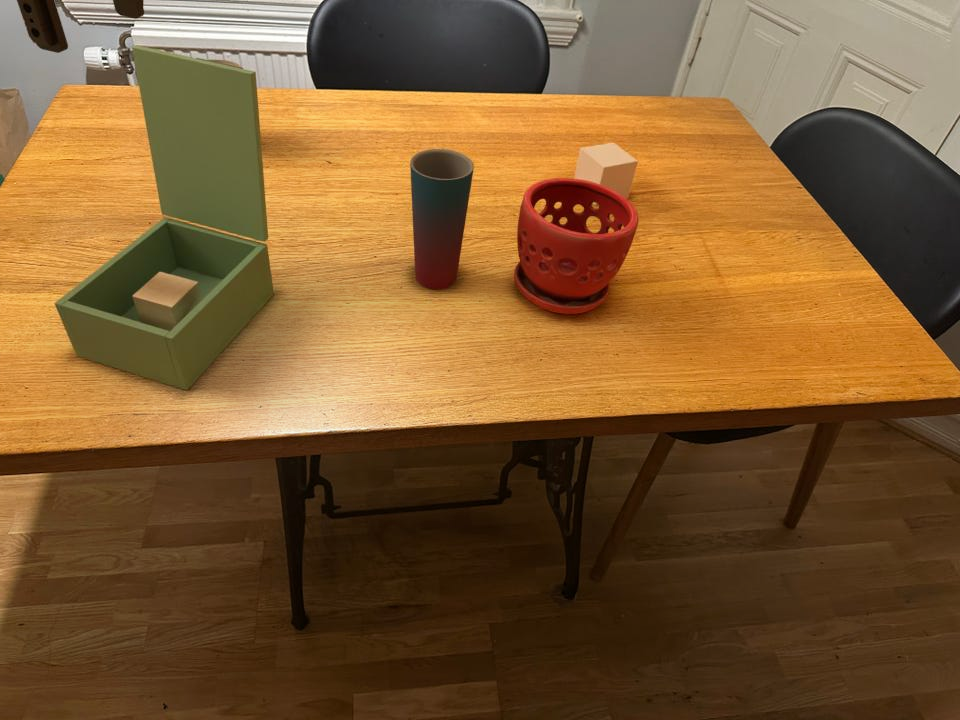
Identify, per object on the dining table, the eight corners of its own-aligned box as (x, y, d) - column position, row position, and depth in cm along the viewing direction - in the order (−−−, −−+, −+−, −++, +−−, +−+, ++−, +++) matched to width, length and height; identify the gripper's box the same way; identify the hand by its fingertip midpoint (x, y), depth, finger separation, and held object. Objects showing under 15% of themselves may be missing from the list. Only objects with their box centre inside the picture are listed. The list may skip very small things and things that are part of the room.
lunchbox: (187, 390, 68) (172, 338, 63) (76, 356, 70) (53, 303, 65) (274, 294, 79) (267, 244, 75) (177, 267, 81) (164, 216, 77)
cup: (415, 297, 81) (419, 182, 71) (401, 264, 86) (403, 151, 76) (470, 290, 83) (482, 177, 73) (454, 257, 88) (463, 146, 78)
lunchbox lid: (251, 73, 64) (279, 61, 67) (131, 46, 66) (165, 36, 69) (264, 242, 74) (288, 223, 78) (161, 214, 76) (189, 197, 80)
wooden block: (181, 341, 71) (171, 307, 68) (142, 330, 72) (131, 295, 69) (206, 315, 75) (198, 281, 72) (169, 304, 75) (159, 271, 72)
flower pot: (588, 339, 79) (611, 251, 70) (489, 295, 83) (500, 207, 75) (632, 284, 87) (657, 199, 79) (540, 246, 91) (555, 162, 83)
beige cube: (604, 179, 107) (613, 142, 102) (628, 198, 103) (638, 160, 99) (572, 185, 104) (580, 147, 100) (594, 205, 100) (603, 167, 96)
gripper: (51, -256, 48) (114, -2, 59) (-143, -256, 38) (-23, 52, 49) (146, -242, 47) (192, 15, 58) (-28, -238, 37) (69, 73, 48)
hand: (94, 31), depth 53 cm, fingers open, 8 cm apart
